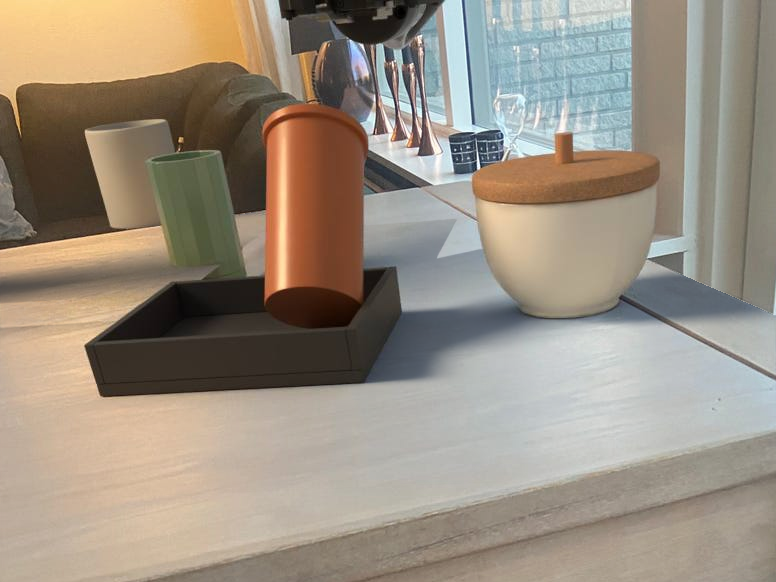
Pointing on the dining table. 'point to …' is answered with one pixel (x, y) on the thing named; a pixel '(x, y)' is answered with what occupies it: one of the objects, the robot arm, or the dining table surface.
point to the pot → (314, 216)
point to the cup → (197, 211)
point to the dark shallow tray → (237, 340)
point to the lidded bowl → (567, 226)
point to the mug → (128, 168)
